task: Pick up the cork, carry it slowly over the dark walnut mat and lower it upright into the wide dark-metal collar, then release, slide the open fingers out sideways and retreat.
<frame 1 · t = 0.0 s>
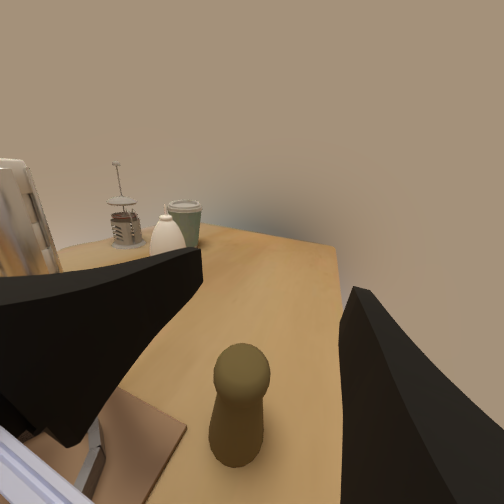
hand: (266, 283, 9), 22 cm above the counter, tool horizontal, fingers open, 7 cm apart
white vase: (170, 277, 49), on the counter
collar: (17, 489, 16), on the walnut mat, point 1 cm above the counter
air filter: (51, 318, 34), on the counter
walnut mat: (25, 499, 16), on the counter
french press: (130, 244, 65), on the counter
disposable coffee cup: (186, 247, 68), on the counter
cork: (236, 430, 22), on the counter
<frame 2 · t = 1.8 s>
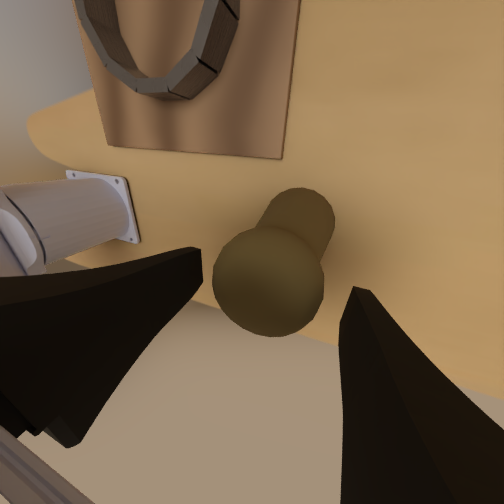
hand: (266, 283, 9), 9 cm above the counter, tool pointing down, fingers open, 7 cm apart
walnut mat: (172, 6, 14), on the counter
cork: (297, 223, 17), on the counter
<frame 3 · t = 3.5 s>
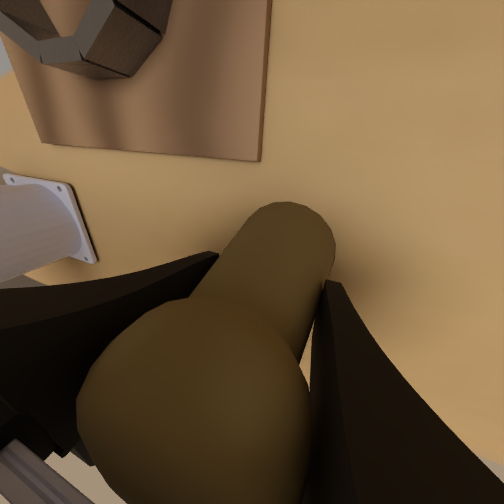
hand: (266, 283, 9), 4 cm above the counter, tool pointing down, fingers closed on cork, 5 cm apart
cork: (284, 248, 13), on the counter, touching gripper
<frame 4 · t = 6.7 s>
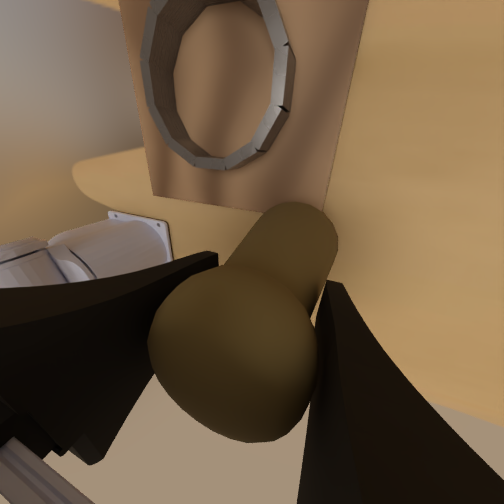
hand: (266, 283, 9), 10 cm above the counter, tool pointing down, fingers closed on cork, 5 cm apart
collar: (215, 86, 14), on the walnut mat, point 1 cm above the counter
walnut mat: (227, 93, 16), on the counter
cork: (292, 243, 14), point 4 cm above the counter, touching gripper
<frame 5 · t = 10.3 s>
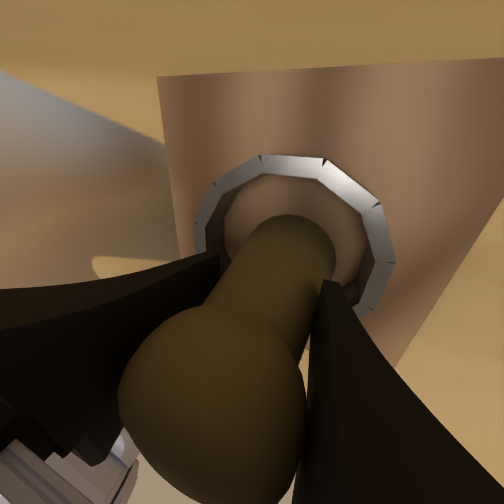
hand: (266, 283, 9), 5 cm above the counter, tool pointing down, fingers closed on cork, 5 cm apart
collar: (281, 253, 12), on the walnut mat, point 1 cm above the counter
walnut mat: (287, 242, 14), on the counter
cork: (288, 256, 14), resting on walnut mat, touching gripper
when the fingers open (5 cm above the counter, at t = 10.6 s): cork stays where it is, resting on walnut mat.
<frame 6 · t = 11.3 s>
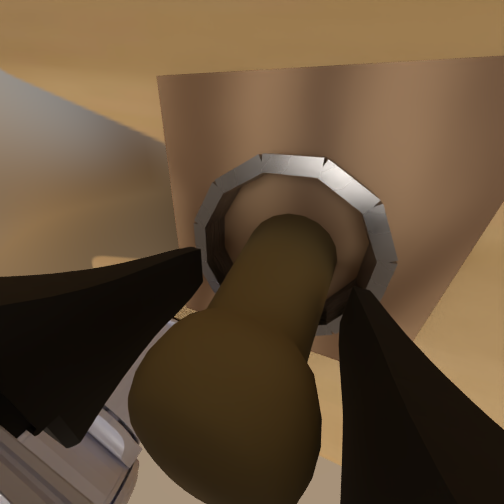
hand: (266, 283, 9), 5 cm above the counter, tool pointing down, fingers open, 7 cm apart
collar: (282, 253, 12), on the walnut mat, point 1 cm above the counter
walnut mat: (288, 241, 14), on the counter
cork: (289, 255, 14), resting on walnut mat
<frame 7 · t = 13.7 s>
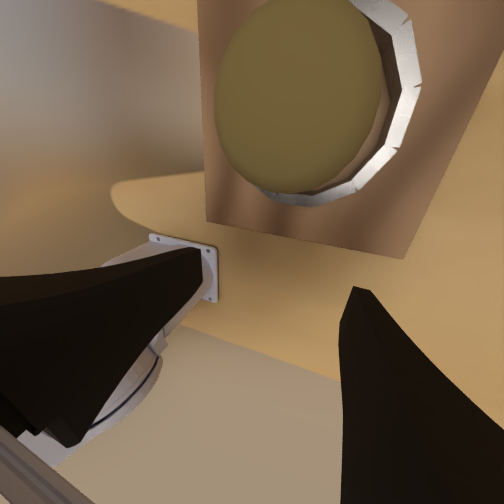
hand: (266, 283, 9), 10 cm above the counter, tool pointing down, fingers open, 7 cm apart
collar: (309, 120, 13), on the walnut mat, point 1 cm above the counter
walnut mat: (311, 123, 15), on the counter
cork: (313, 136, 15), resting on walnut mat
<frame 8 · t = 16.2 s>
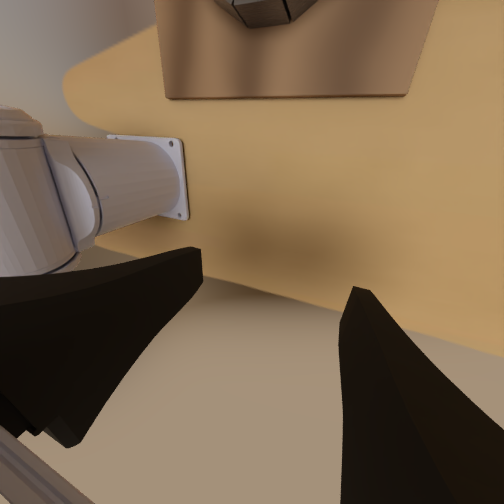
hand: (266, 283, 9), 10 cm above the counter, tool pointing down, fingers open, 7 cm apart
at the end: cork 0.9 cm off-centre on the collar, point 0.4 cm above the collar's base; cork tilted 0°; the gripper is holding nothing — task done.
